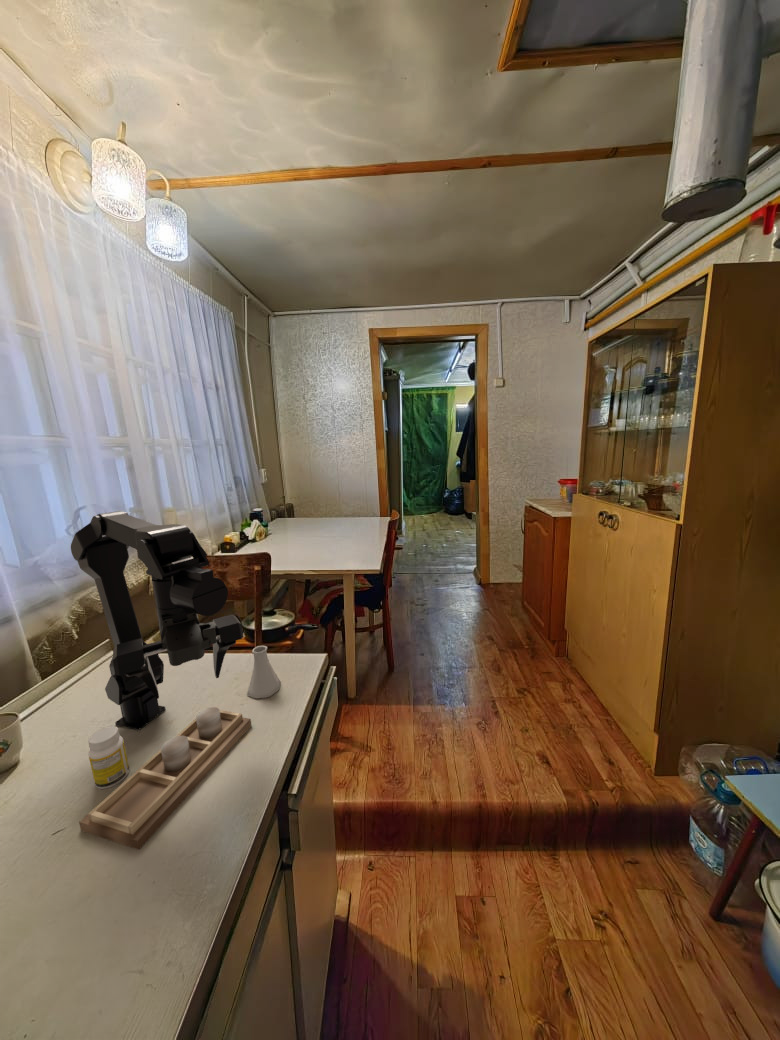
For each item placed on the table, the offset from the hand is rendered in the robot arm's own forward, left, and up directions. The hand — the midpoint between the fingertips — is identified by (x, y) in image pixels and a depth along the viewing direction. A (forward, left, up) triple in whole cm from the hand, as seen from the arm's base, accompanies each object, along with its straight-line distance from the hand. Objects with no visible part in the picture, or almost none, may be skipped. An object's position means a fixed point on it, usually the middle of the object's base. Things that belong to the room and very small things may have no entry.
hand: (188, 686), depth 65 cm
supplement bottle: (-11, -8, -14) cm, 19 cm away
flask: (0, +19, -14) cm, 24 cm away
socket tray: (-1, -4, -14) cm, 14 cm away
